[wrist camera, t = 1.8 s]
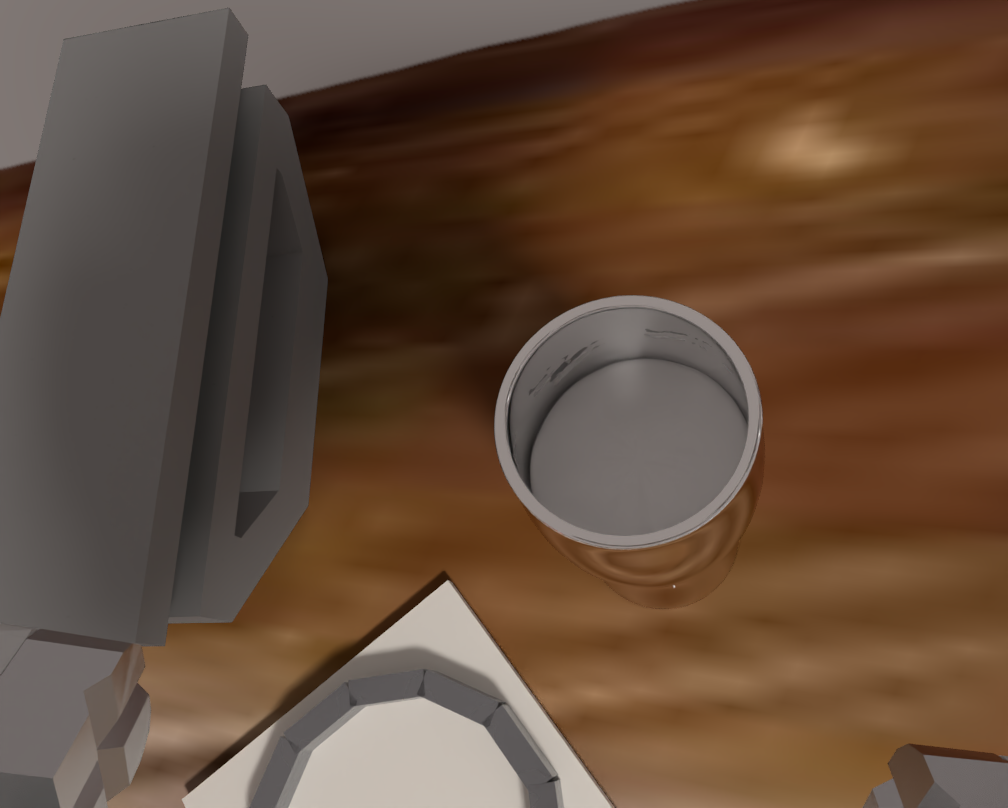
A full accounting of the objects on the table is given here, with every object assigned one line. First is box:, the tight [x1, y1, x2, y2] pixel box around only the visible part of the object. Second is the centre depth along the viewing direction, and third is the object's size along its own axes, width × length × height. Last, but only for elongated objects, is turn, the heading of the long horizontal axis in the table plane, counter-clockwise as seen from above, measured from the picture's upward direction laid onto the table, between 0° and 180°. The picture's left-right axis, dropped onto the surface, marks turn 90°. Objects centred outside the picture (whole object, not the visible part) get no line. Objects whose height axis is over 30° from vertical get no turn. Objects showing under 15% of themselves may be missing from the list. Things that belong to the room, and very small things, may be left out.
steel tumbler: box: [494, 295, 765, 609], centre depth 28 cm, size 7×7×15 cm
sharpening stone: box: [0, 8, 328, 646], centre depth 36 cm, size 25×8×11 cm, turn 0°
